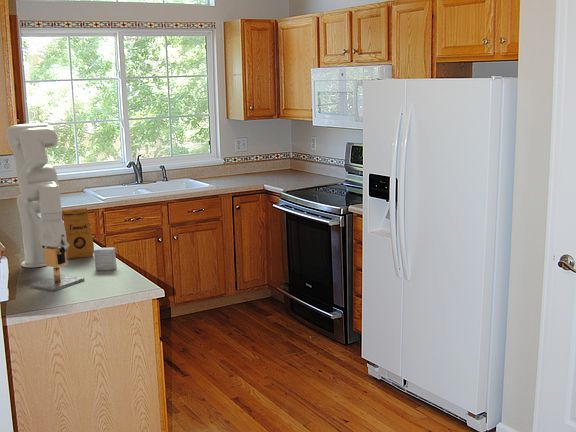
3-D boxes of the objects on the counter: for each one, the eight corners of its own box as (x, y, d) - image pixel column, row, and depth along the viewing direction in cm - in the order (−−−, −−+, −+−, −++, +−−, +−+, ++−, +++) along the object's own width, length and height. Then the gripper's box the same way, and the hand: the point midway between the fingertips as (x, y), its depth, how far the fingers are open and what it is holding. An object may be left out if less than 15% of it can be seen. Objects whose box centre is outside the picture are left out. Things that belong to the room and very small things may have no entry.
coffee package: (95, 258, 310) (91, 209, 306) (65, 261, 306) (61, 211, 302) (93, 253, 319) (90, 205, 315) (65, 255, 315) (61, 207, 311)
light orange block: (45, 265, 269) (43, 248, 267) (56, 262, 274) (55, 245, 272) (55, 267, 266) (53, 249, 265) (66, 263, 271) (65, 246, 269)
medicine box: (116, 267, 294) (115, 247, 292) (114, 270, 290) (113, 249, 288) (97, 267, 294) (96, 247, 292) (95, 270, 289) (93, 250, 288)
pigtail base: (30, 287, 268) (29, 271, 266) (63, 276, 281) (61, 261, 280) (52, 291, 262) (50, 274, 260) (84, 280, 275) (83, 264, 274)
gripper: (28, 216, 267) (32, 262, 271) (60, 220, 259) (64, 267, 262) (43, 213, 274) (48, 258, 277) (75, 216, 265) (79, 262, 269)
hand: (55, 262), depth 270 cm, fingers closed on light orange block, 5 cm apart
